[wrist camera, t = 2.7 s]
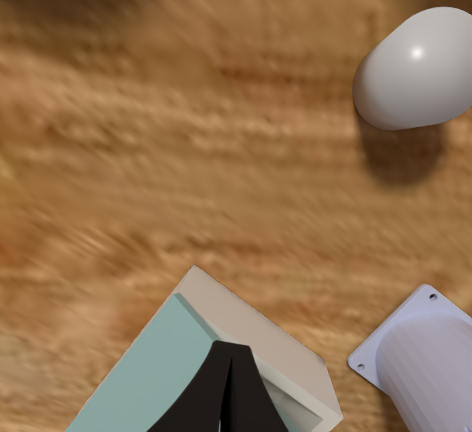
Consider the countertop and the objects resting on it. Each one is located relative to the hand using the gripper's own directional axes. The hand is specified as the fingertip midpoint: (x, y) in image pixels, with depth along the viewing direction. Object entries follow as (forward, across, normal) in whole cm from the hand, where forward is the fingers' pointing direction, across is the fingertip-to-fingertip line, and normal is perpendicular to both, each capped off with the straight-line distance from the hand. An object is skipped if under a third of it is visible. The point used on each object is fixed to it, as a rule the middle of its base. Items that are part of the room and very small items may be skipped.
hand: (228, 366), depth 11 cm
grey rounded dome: (+10, -8, -13) cm, 18 cm away
